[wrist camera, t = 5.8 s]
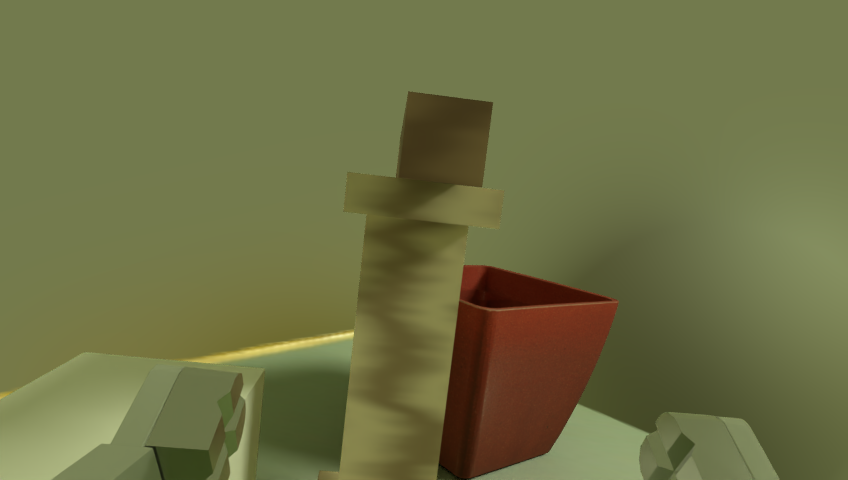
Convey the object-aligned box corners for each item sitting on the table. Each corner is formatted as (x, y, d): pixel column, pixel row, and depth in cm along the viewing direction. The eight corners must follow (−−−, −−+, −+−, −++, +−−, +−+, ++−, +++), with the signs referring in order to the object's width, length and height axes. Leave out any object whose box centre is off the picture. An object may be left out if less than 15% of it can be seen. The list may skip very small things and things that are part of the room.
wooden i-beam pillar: (439, 503, 44) (479, 188, 41) (460, 652, 30) (523, 192, 27) (317, 493, 43) (349, 172, 41) (281, 642, 29) (327, 169, 27)
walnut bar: (434, 182, 41) (439, 143, 41) (481, 187, 19) (492, 102, 19) (395, 178, 41) (400, 138, 40) (398, 177, 19) (408, 91, 19)
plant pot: (471, 390, 70) (488, 262, 68) (598, 459, 55) (624, 299, 53) (342, 416, 58) (358, 263, 56) (460, 515, 43) (487, 310, 41)
